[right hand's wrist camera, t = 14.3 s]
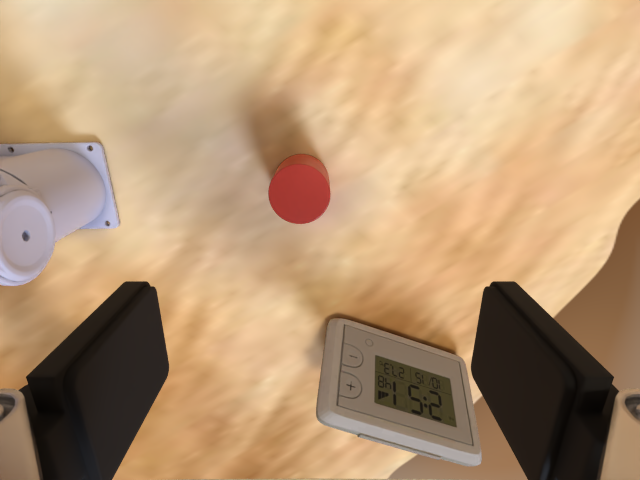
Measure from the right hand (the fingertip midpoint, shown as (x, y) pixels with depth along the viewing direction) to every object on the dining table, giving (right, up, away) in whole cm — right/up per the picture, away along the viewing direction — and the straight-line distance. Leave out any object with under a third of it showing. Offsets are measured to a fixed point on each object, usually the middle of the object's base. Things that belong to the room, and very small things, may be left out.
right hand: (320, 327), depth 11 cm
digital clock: (+8, -10, +32) cm, 34 cm away
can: (-2, +8, +25) cm, 26 cm away
